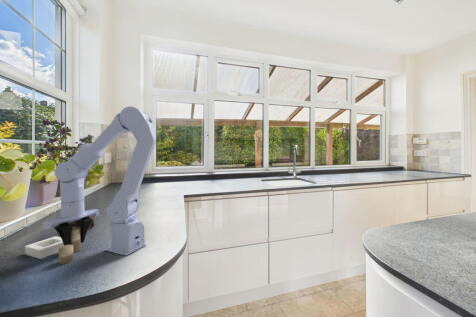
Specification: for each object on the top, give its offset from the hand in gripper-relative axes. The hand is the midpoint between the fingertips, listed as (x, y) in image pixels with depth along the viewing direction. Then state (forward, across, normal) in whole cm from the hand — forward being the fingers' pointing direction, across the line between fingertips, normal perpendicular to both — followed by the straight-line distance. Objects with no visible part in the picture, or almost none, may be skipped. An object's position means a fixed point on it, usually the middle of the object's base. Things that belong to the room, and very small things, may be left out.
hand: (74, 244), depth 66 cm
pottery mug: (+2, -11, -15) cm, 19 cm away
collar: (+2, +3, -8) cm, 8 cm away
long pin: (+2, 0, 0) cm, 2 cm away
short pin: (+2, +5, +5) cm, 7 cm away
